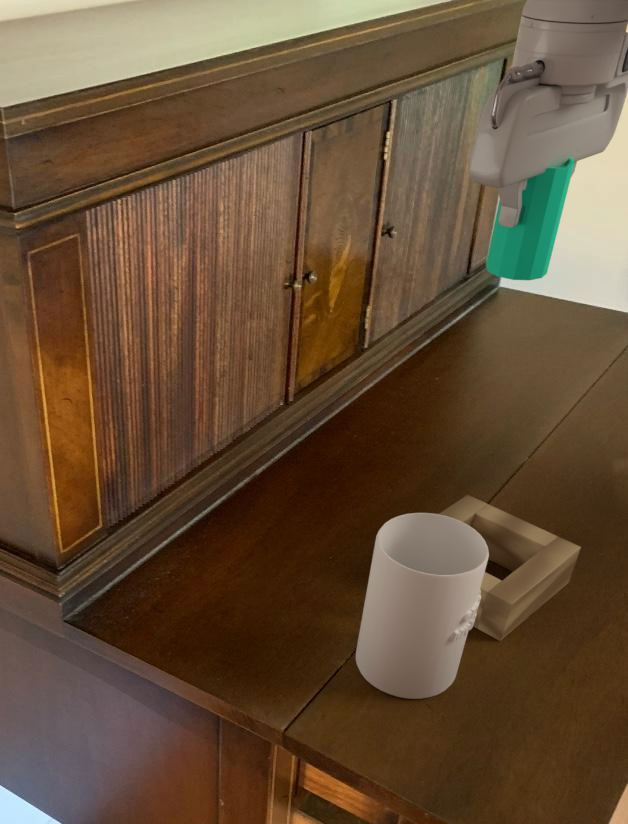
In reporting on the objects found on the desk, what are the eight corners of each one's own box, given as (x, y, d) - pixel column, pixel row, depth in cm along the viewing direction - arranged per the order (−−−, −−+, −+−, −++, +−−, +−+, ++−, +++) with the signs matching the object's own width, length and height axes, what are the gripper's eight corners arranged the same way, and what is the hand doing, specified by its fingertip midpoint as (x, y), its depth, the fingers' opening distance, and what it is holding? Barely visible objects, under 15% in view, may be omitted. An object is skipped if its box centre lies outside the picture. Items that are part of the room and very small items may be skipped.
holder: (568, 583, 82) (581, 546, 79) (500, 641, 76) (511, 604, 73) (459, 529, 88) (467, 494, 86) (387, 579, 82) (394, 543, 80)
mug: (465, 613, 79) (497, 495, 71) (455, 710, 70) (491, 586, 62) (368, 595, 80) (389, 478, 73) (348, 687, 72) (369, 564, 64)
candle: (530, 257, 96) (560, 132, 88) (557, 278, 91) (591, 147, 84) (476, 261, 95) (501, 134, 88) (500, 282, 91) (529, 150, 83)
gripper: (536, 75, 74) (498, 249, 83) (652, 46, 85) (608, 203, 93) (468, 65, 77) (439, 233, 86) (588, 38, 88) (552, 190, 97)
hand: (528, 217), depth 90 cm, fingers closed on candle, 5 cm apart
